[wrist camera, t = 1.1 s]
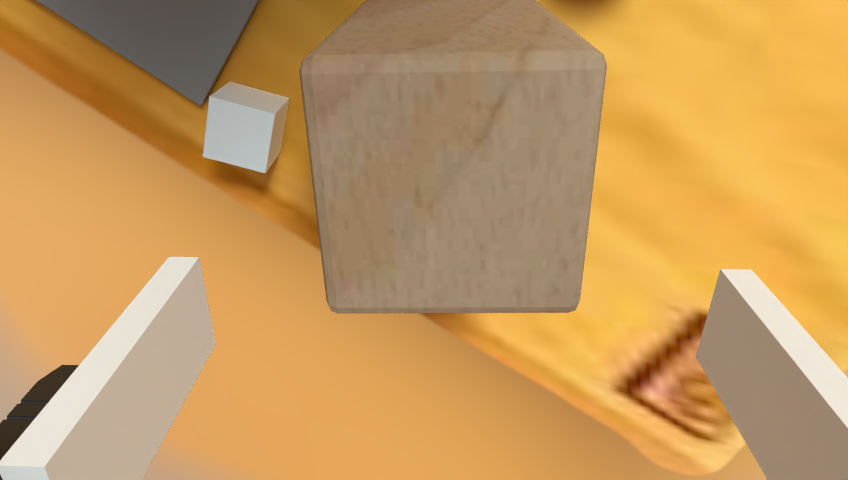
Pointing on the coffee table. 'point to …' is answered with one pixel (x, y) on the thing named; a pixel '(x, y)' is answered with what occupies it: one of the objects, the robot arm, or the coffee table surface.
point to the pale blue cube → (245, 126)
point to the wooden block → (453, 156)
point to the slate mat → (165, 35)
